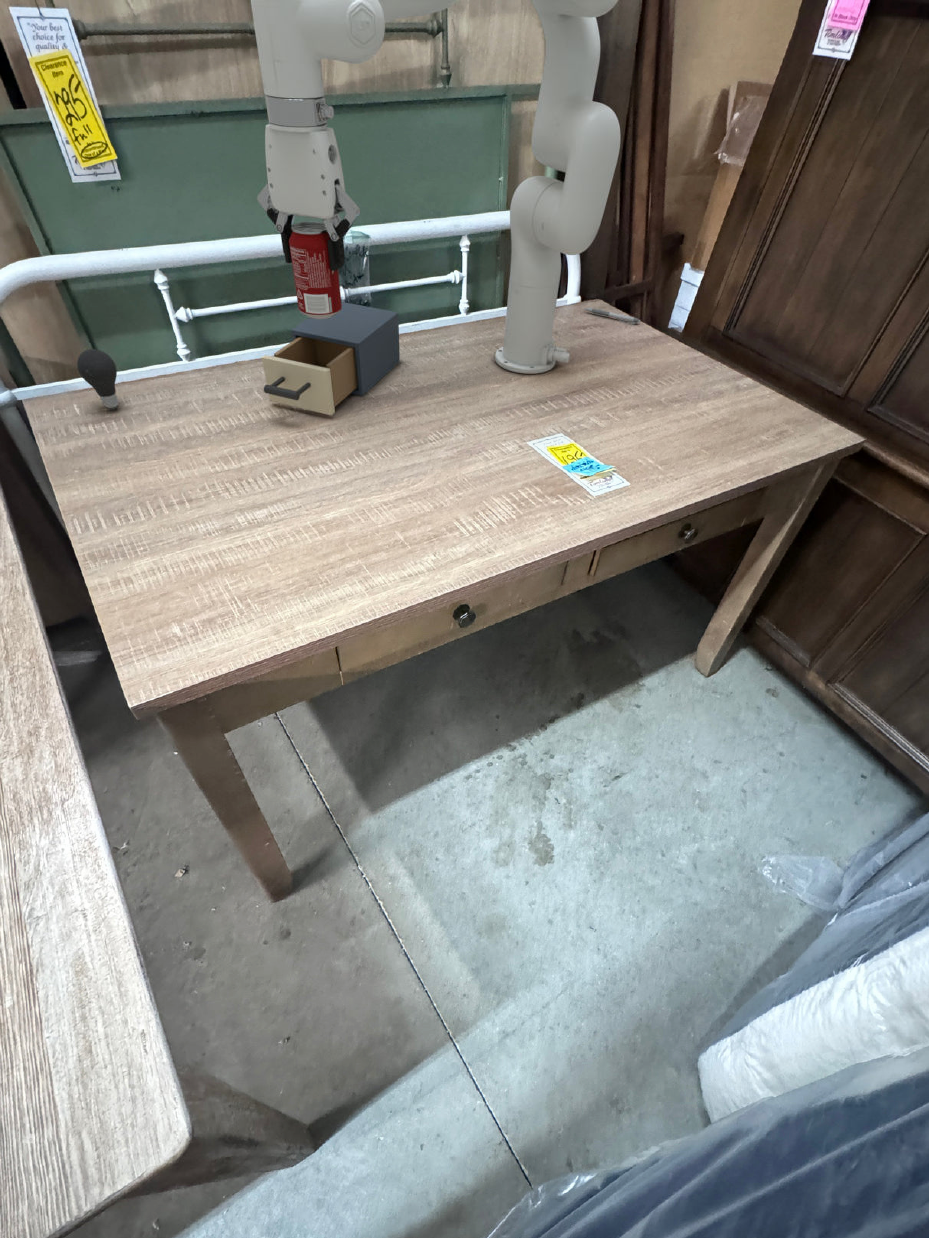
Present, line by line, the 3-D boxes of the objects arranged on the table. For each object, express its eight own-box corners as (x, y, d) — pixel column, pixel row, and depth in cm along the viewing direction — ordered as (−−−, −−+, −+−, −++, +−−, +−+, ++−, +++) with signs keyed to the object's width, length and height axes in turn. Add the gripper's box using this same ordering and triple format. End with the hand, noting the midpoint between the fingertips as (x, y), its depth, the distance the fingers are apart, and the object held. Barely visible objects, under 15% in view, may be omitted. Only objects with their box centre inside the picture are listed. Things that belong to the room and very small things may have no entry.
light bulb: (94, 403, 108) (71, 345, 100) (129, 398, 109) (108, 341, 102) (95, 418, 104) (70, 359, 97) (131, 413, 106) (109, 355, 99)
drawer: (316, 429, 103) (310, 384, 97) (253, 413, 106) (243, 369, 100) (371, 379, 117) (369, 337, 111) (314, 367, 119) (308, 325, 114)
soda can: (334, 323, 95) (324, 235, 87) (292, 318, 96) (279, 230, 87) (347, 308, 100) (340, 222, 91) (308, 303, 101) (297, 218, 92)
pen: (638, 326, 145) (640, 319, 144) (583, 313, 149) (584, 307, 148) (639, 324, 145) (641, 318, 144) (584, 312, 149) (585, 305, 148)
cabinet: (362, 396, 114) (358, 343, 107) (298, 381, 117) (290, 329, 110) (399, 362, 125) (398, 312, 118) (340, 349, 128) (335, 300, 121)
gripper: (369, 116, 81) (377, 266, 94) (255, 104, 84) (278, 249, 97) (343, 124, 76) (355, 281, 89) (222, 110, 79) (251, 263, 92)
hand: (315, 263), depth 93 cm, fingers closed on soda can, 6 cm apart
